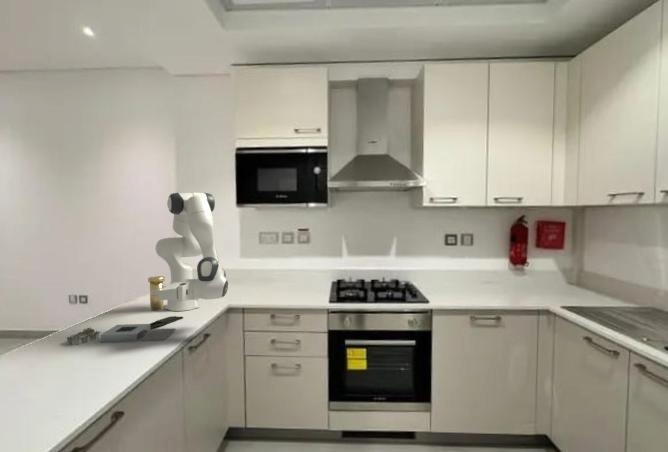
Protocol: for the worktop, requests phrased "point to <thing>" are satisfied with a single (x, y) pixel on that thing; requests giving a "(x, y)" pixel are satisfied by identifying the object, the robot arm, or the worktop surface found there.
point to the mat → (158, 334)
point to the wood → (165, 321)
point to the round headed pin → (154, 301)
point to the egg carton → (83, 336)
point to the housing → (125, 333)
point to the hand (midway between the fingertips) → (154, 290)
